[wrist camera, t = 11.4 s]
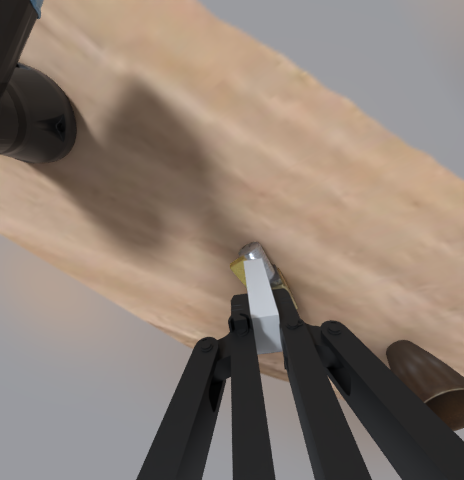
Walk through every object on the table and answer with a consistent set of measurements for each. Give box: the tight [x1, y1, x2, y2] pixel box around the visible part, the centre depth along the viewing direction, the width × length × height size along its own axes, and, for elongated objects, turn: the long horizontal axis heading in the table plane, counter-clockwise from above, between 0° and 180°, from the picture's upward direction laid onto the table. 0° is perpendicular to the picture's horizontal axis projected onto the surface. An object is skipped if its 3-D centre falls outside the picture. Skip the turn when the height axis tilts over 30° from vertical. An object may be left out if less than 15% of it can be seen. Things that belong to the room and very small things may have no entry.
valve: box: [238, 242, 301, 319], centre depth 50 cm, size 24×7×9 cm, turn 29°
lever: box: [230, 255, 247, 288], centre depth 42 cm, size 17×4×2 cm, turn 36°
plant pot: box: [386, 340, 464, 431], centre depth 55 cm, size 15×15×16 cm
